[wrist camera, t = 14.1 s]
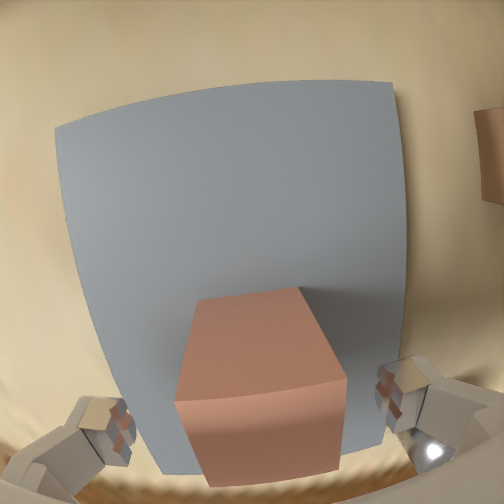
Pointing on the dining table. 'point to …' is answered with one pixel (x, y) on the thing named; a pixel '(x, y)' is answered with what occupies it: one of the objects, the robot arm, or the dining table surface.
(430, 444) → the dark metal cylinder
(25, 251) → the dining table surface
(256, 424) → the terracotta block
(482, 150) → the walnut block
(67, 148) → the slate board
